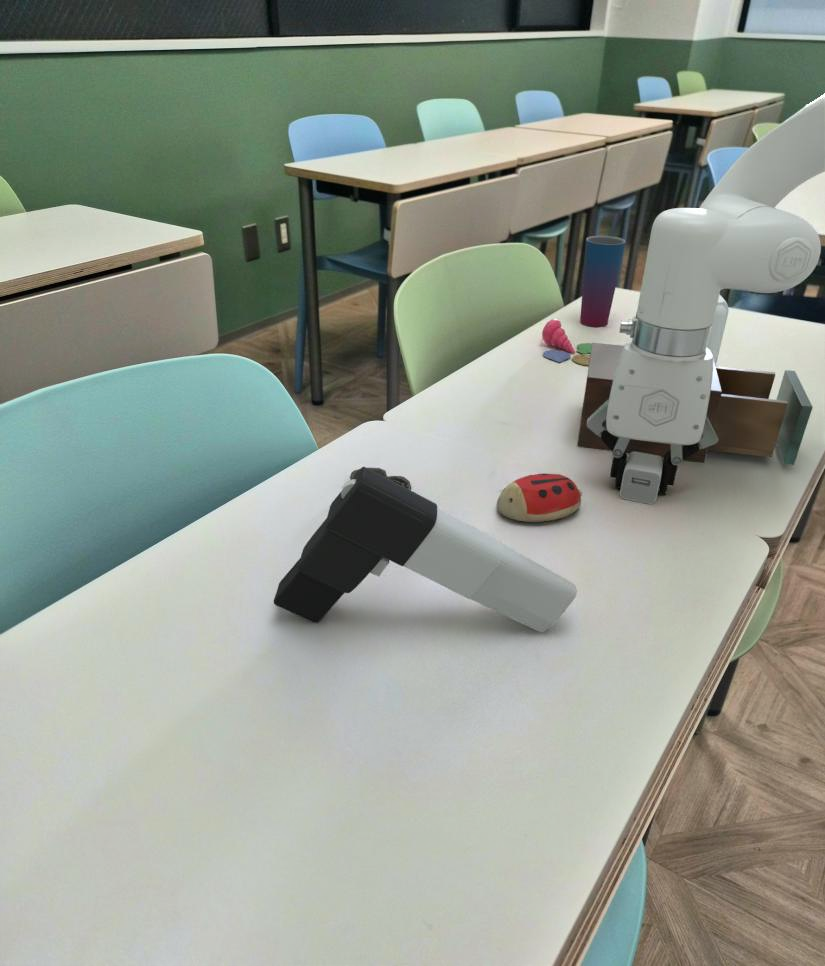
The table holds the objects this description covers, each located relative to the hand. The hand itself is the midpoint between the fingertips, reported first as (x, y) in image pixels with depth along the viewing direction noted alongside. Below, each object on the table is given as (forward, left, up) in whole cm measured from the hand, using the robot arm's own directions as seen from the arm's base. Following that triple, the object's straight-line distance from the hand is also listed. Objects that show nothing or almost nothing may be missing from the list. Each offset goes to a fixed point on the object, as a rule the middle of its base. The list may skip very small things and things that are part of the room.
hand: (640, 484), depth 85 cm
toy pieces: (+11, -42, -1) cm, 43 cm away
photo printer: (-8, -43, -1) cm, 44 cm away
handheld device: (+19, +29, -1) cm, 34 cm away
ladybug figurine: (+11, +8, -1) cm, 14 cm away
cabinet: (0, -15, 0) cm, 15 cm away
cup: (+8, -59, -1) cm, 60 cm away
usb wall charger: (0, 0, -1) cm, 1 cm away
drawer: (-11, -15, +1) cm, 18 cm away
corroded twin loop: (+29, +9, 0) cm, 30 cm away
